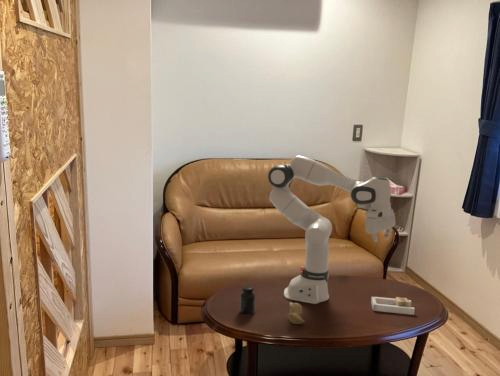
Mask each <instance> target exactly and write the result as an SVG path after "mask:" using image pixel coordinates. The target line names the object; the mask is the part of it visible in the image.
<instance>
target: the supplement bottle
mask: <svg viewBox="0 0 500 376" xmlns="http://www.w3.org/2000/svg"><path fill="white" fill-rule="evenodd" d="M241 291H242V292H240V295H239V312H240V313H241V314H242V315H244V316H250V315H253V314H254V313H255V311H256V294H255V292H254V286H252V285H249V284H248V285H243V286H242V290H241Z"/></svg>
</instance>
